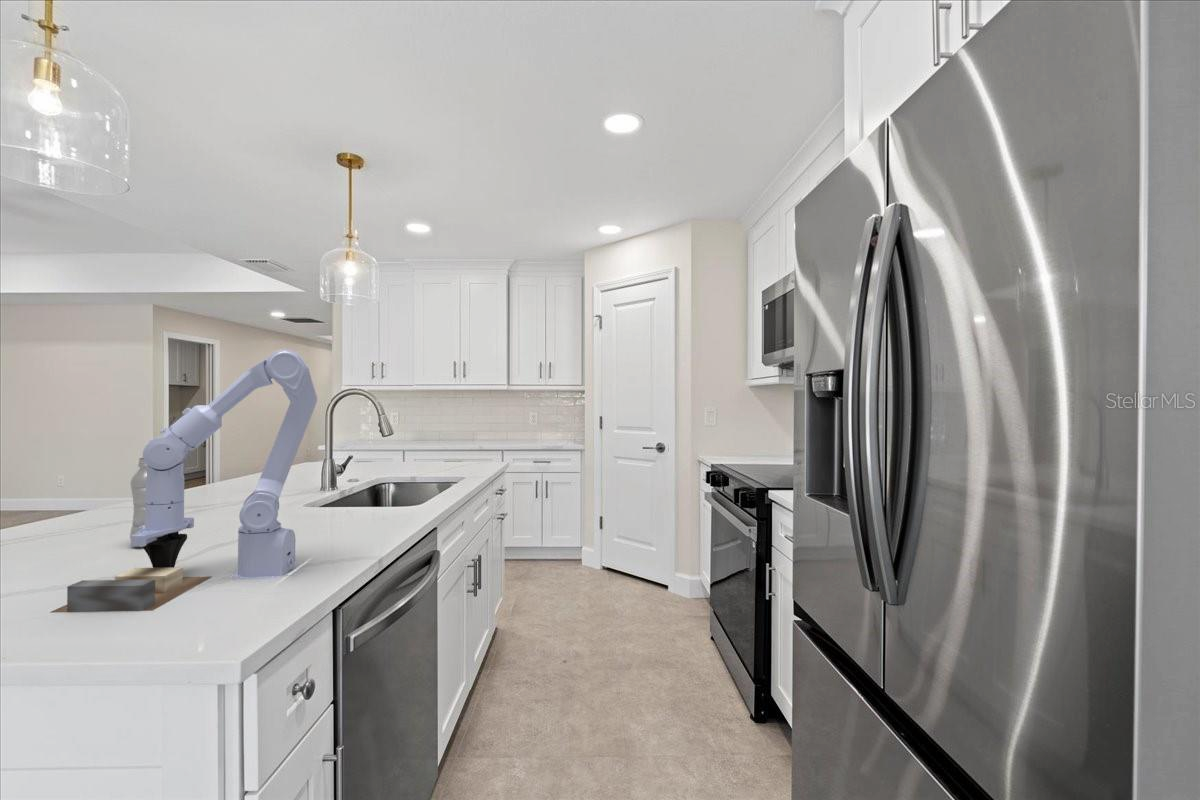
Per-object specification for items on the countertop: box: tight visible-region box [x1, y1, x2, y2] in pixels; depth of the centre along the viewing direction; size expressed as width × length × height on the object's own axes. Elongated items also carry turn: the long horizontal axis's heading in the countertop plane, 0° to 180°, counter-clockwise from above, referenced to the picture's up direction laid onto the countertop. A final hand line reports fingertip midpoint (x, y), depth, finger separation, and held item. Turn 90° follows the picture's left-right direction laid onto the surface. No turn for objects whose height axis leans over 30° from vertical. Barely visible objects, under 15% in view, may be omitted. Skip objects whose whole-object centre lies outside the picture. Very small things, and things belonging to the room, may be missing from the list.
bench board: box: [49, 576, 212, 614], centre depth 99 cm, size 15×17×5 cm
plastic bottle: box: [129, 457, 147, 540], centre depth 131 cm, size 6×7×20 cm
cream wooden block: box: [114, 566, 184, 593], centre depth 102 cm, size 8×5×3 cm, turn 96°
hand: (163, 575), depth 105 cm, fingers closed
